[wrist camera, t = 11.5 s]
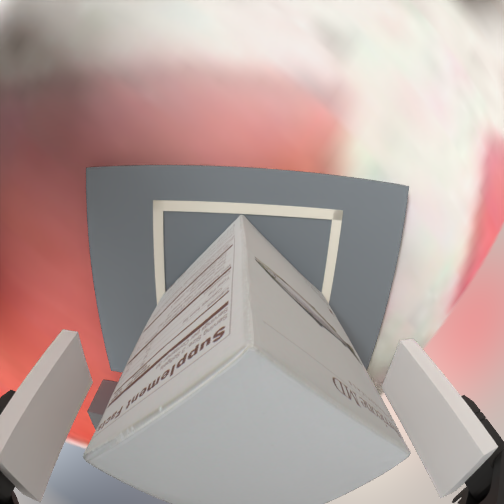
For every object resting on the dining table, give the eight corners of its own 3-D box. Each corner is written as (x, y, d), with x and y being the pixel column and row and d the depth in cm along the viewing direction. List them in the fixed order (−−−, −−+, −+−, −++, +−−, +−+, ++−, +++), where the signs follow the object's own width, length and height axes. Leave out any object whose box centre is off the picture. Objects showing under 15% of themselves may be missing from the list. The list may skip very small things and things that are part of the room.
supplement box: (324, 292, 18) (419, 457, 6) (241, 360, 20) (248, 533, 8) (242, 207, 17) (257, 341, 4) (158, 292, 18) (76, 464, 6)
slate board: (114, 364, 21) (110, 371, 20) (91, 167, 16) (85, 167, 15) (360, 371, 22) (364, 378, 21) (402, 185, 17) (409, 186, 17)
